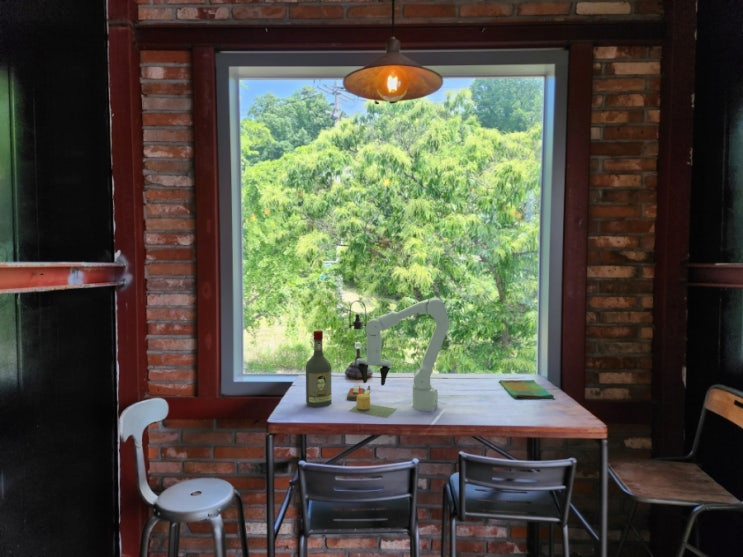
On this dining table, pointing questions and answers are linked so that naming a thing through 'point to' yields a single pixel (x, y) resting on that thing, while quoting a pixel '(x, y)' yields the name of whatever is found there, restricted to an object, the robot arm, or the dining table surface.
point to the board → (375, 411)
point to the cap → (363, 401)
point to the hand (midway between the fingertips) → (374, 383)
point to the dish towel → (525, 389)
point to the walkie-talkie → (357, 392)
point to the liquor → (318, 376)
